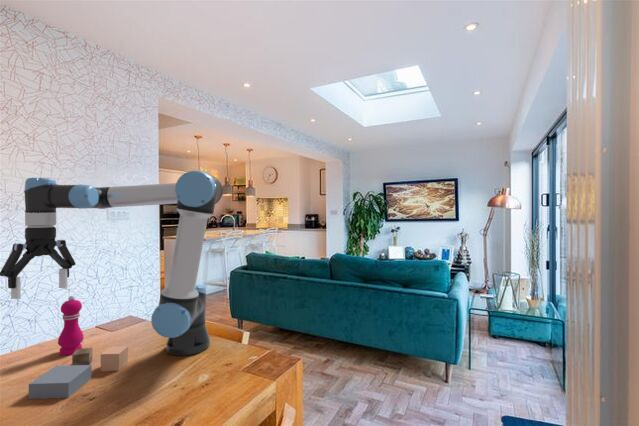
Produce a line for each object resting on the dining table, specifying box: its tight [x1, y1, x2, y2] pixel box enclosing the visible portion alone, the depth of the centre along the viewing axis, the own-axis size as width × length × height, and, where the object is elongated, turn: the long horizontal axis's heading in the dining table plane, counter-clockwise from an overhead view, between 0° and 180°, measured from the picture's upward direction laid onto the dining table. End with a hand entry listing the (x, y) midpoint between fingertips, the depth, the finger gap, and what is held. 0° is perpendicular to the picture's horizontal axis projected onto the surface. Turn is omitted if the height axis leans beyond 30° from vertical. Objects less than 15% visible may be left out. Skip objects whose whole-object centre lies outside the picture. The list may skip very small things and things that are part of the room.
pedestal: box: [28, 364, 93, 400], centre depth 91 cm, size 10×10×4 cm
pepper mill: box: [57, 295, 85, 356], centre depth 113 cm, size 7×7×20 cm
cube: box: [100, 345, 129, 372], centre depth 104 cm, size 6×6×6 cm
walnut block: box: [71, 347, 93, 365], centre depth 104 cm, size 4×4×4 cm
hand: (41, 293), depth 102 cm, fingers open, 13 cm apart
